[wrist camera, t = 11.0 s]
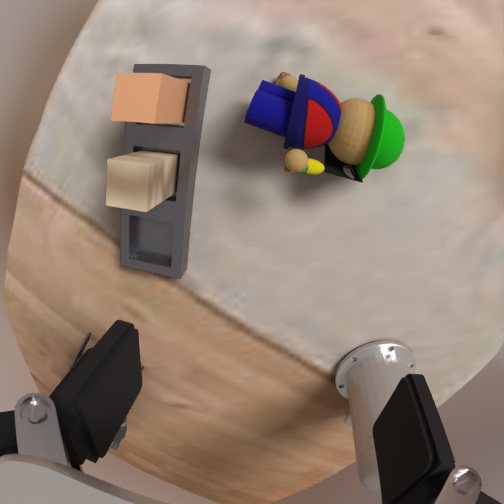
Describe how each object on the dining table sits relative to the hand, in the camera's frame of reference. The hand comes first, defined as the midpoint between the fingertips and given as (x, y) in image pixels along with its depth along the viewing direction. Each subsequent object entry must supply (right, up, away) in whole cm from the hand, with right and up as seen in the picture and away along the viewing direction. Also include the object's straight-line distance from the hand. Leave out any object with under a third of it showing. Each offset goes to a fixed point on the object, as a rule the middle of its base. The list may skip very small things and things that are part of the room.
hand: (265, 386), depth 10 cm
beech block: (-11, +13, +24) cm, 29 cm away
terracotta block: (-10, +21, +21) cm, 31 cm away
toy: (+7, +18, +22) cm, 29 cm away
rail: (-11, +14, +25) cm, 31 cm away
